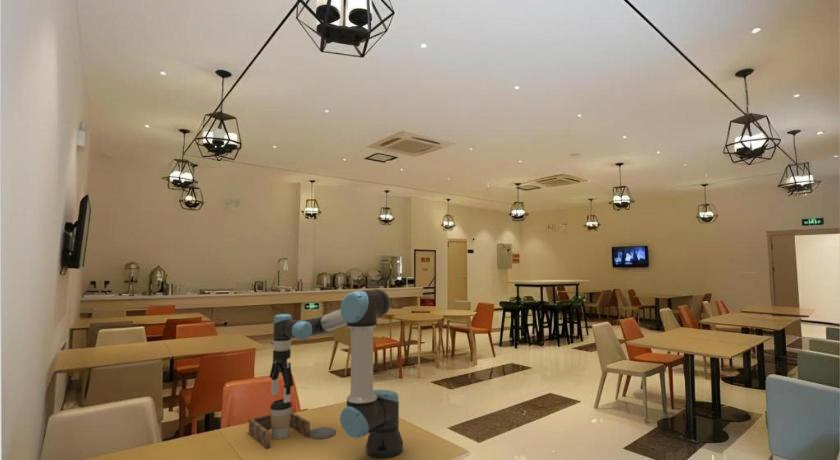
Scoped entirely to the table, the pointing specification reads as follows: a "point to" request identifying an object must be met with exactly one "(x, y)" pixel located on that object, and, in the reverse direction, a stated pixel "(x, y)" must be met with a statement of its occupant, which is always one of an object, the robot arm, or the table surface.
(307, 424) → the brown rectangular open frame
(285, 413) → the coffee cup
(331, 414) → the table surface
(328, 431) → the coaster
